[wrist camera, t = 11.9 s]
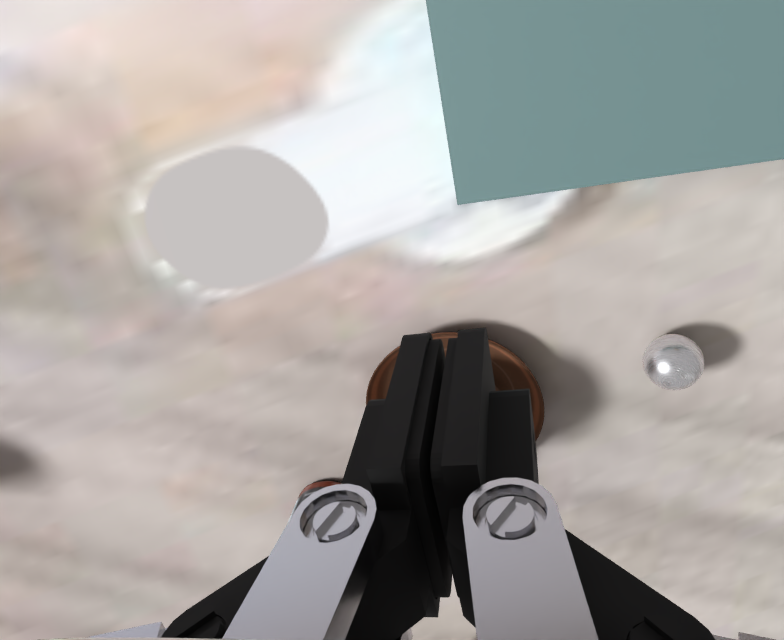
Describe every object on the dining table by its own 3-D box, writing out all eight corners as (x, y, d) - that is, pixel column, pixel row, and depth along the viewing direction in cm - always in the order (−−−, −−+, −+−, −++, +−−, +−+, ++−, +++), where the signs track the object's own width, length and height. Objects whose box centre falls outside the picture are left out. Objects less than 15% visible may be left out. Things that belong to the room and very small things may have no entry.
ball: (627, 376, 38) (634, 336, 40) (666, 407, 38) (671, 367, 40) (675, 355, 35) (680, 314, 37) (715, 390, 36) (718, 347, 38)
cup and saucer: (565, 438, 44) (573, 502, 39) (412, 474, 48) (400, 537, 43) (507, 296, 39) (507, 348, 34) (342, 350, 43) (320, 403, 38)
